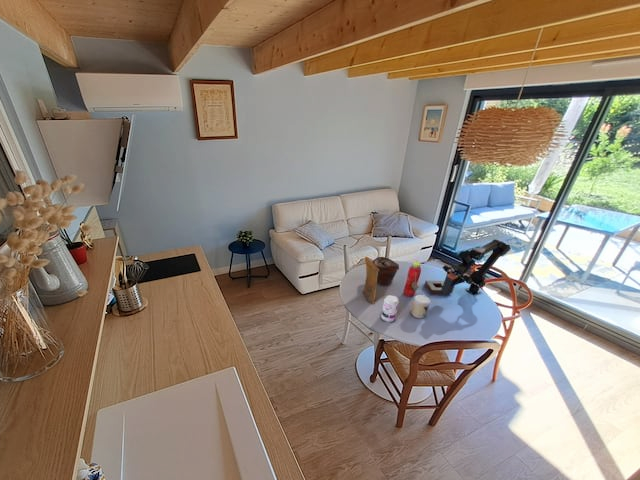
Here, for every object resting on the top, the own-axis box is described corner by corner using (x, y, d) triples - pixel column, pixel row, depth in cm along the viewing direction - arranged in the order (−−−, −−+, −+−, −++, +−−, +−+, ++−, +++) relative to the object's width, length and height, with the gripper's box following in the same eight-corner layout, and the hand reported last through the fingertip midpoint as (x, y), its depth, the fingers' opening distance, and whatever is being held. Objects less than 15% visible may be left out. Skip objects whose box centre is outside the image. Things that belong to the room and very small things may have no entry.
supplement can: (394, 315, 179) (399, 295, 172) (394, 323, 172) (399, 303, 165) (381, 312, 182) (385, 293, 174) (380, 320, 175) (384, 301, 167)
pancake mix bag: (367, 304, 189) (373, 268, 175) (359, 289, 206) (364, 254, 192) (377, 304, 189) (384, 268, 176) (368, 288, 206) (374, 254, 192)
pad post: (445, 288, 192) (452, 272, 185) (452, 293, 188) (458, 276, 181) (440, 290, 190) (446, 274, 183) (446, 294, 186) (452, 278, 179)
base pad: (442, 285, 209) (443, 281, 207) (449, 295, 198) (451, 290, 196) (424, 285, 210) (425, 280, 208) (430, 294, 199) (432, 290, 197)
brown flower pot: (373, 272, 226) (376, 252, 218) (398, 279, 216) (403, 259, 207) (364, 282, 214) (368, 261, 205) (391, 290, 204) (396, 268, 195)
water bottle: (416, 301, 192) (425, 269, 180) (404, 299, 194) (412, 267, 182) (413, 291, 202) (422, 260, 190) (401, 290, 204) (409, 259, 192)
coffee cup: (424, 320, 174) (429, 305, 168) (408, 315, 179) (412, 300, 173) (426, 312, 181) (431, 297, 175) (411, 308, 186) (415, 293, 180)
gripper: (448, 253, 186) (431, 271, 188) (475, 266, 171) (456, 285, 173) (453, 262, 192) (437, 279, 194) (479, 274, 177) (462, 293, 179)
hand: (447, 284), depth 185 cm, fingers closed on pad post, 5 cm apart
